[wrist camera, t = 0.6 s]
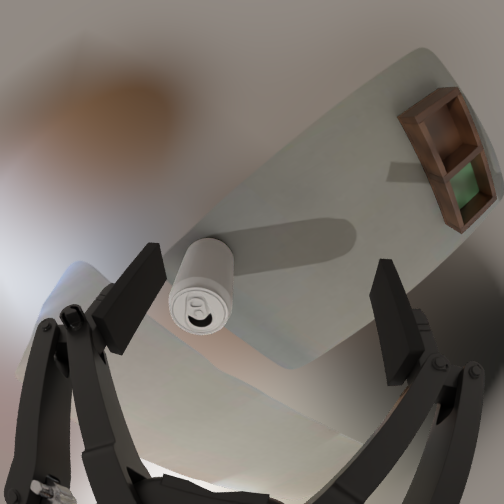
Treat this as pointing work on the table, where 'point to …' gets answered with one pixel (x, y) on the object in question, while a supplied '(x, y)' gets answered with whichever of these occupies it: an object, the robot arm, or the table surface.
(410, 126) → the wooden compartment tray
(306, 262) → the table surface
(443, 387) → the robot arm
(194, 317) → the beverage can
